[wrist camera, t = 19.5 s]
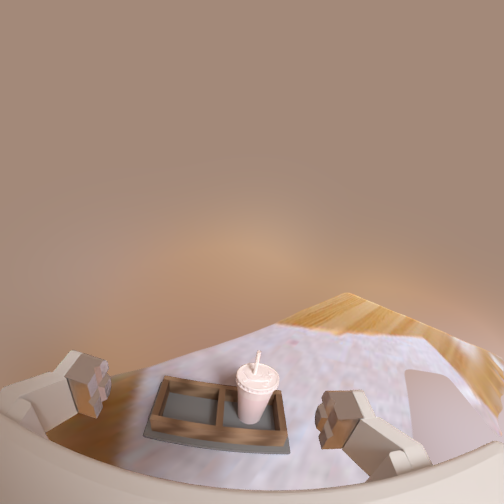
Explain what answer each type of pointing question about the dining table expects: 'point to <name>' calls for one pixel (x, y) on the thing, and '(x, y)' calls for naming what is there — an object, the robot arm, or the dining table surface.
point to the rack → (216, 431)
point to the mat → (213, 423)
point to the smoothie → (255, 389)
